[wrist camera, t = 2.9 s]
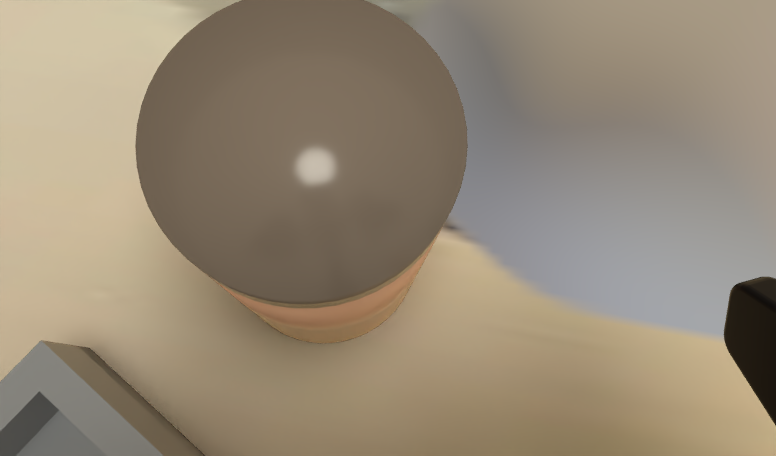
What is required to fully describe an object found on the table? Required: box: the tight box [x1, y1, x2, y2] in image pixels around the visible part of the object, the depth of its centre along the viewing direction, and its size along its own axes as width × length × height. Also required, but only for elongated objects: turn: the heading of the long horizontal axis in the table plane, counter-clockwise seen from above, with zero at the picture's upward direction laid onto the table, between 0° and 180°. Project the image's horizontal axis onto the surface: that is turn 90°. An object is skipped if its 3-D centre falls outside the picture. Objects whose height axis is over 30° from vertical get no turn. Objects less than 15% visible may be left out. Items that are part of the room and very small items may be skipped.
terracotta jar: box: [136, 0, 467, 343], centre depth 15 cm, size 5×5×9 cm
